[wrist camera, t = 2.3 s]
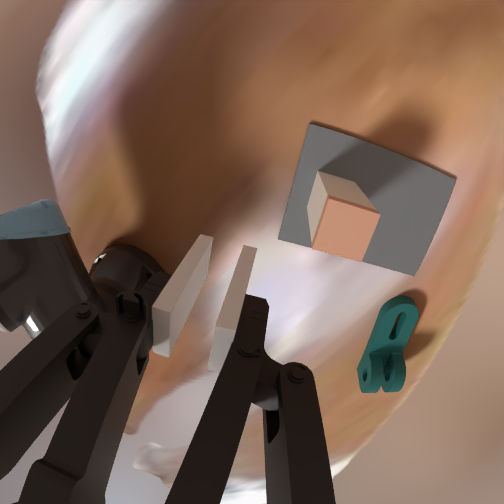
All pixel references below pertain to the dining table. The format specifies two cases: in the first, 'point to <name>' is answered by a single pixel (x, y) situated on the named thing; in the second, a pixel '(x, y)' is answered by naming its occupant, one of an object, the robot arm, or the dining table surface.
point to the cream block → (340, 217)
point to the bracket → (388, 347)
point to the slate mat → (372, 196)
